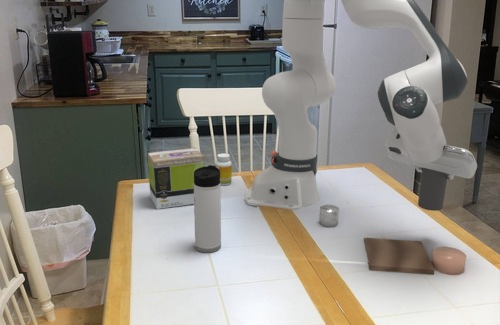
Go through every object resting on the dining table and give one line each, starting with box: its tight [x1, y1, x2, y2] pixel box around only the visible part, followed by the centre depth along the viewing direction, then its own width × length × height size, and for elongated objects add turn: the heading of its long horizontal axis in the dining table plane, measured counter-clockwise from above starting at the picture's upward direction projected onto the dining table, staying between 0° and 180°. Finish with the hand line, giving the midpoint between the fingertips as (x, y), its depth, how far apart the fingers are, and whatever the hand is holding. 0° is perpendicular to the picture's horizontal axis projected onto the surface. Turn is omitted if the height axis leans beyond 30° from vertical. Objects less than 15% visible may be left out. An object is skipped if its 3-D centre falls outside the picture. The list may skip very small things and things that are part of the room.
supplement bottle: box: [214, 153, 233, 186], centre depth 166 cm, size 5×5×10 cm
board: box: [363, 237, 435, 275], centre depth 120 cm, size 14×14×1 cm
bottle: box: [417, 168, 448, 212], centre depth 124 cm, size 6×6×15 cm
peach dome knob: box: [431, 246, 467, 276], centre depth 116 cm, size 7×7×4 cm
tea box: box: [147, 147, 206, 210], centre depth 150 cm, size 15×10×15 cm, turn 111°
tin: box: [318, 204, 340, 228], centre depth 136 cm, size 5×5×5 cm
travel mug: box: [193, 164, 222, 254], centre depth 121 cm, size 6×7×20 cm
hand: (435, 173), depth 124 cm, fingers closed on bottle, 6 cm apart
